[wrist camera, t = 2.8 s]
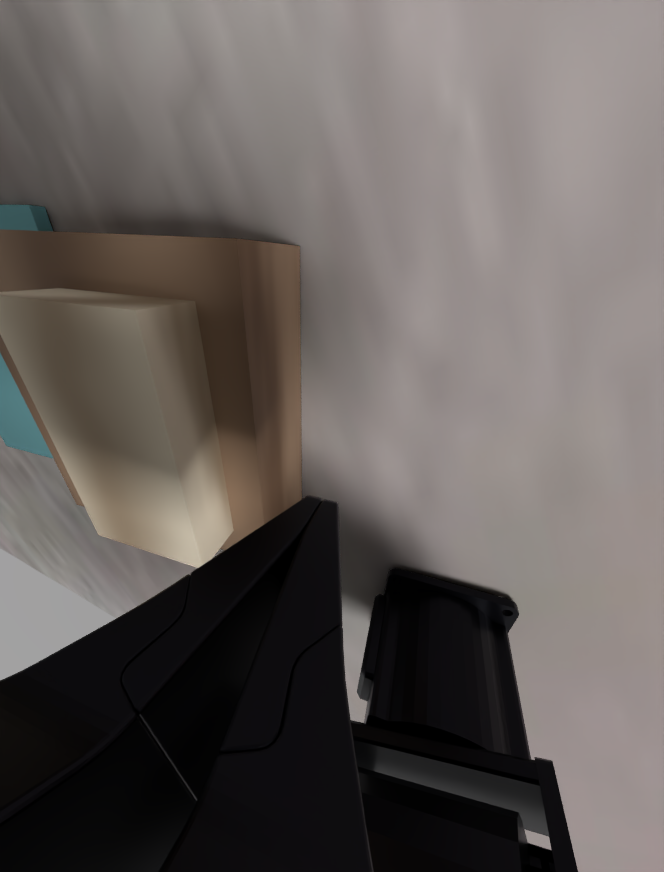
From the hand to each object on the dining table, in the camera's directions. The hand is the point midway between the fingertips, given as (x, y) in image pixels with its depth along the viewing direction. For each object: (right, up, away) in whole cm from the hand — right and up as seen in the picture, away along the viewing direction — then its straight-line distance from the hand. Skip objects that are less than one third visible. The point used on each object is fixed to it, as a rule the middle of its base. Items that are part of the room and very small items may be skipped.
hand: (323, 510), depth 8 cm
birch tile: (-6, +2, +3) cm, 7 cm away
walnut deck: (-6, +4, +7) cm, 10 cm away
